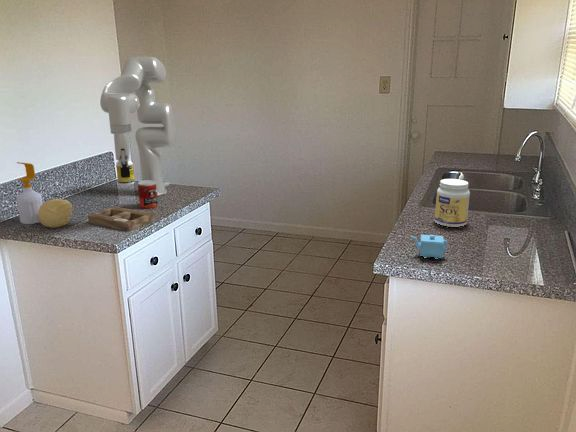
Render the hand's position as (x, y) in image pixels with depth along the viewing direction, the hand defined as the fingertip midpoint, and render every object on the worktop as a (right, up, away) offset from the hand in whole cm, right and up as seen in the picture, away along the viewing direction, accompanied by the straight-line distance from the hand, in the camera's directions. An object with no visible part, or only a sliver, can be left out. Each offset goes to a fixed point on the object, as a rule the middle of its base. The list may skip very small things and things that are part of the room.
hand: (125, 174), depth 205 cm
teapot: (+109, -30, -29) cm, 117 cm away
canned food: (+2, -12, +28) cm, 30 cm away
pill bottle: (0, -4, +1) cm, 4 cm away
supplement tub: (+126, -19, +2) cm, 128 cm away
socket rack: (-4, -18, +8) cm, 20 cm away
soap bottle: (-41, -18, +10) cm, 46 cm away
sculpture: (-29, -20, +5) cm, 35 cm away
